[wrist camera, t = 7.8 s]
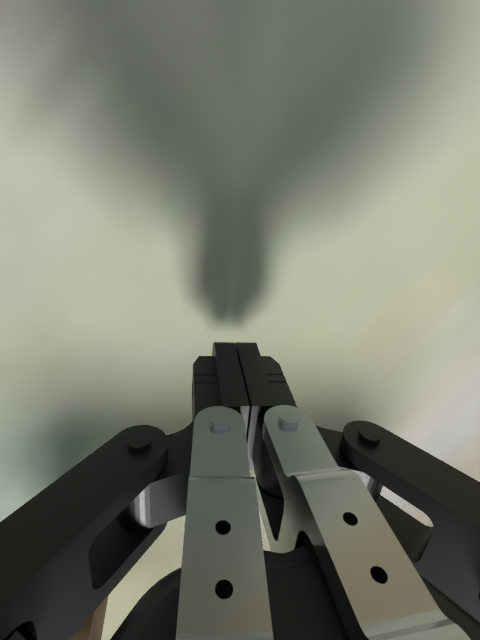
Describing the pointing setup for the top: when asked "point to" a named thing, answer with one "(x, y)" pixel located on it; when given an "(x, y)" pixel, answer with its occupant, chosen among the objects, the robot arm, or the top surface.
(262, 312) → the top surface
